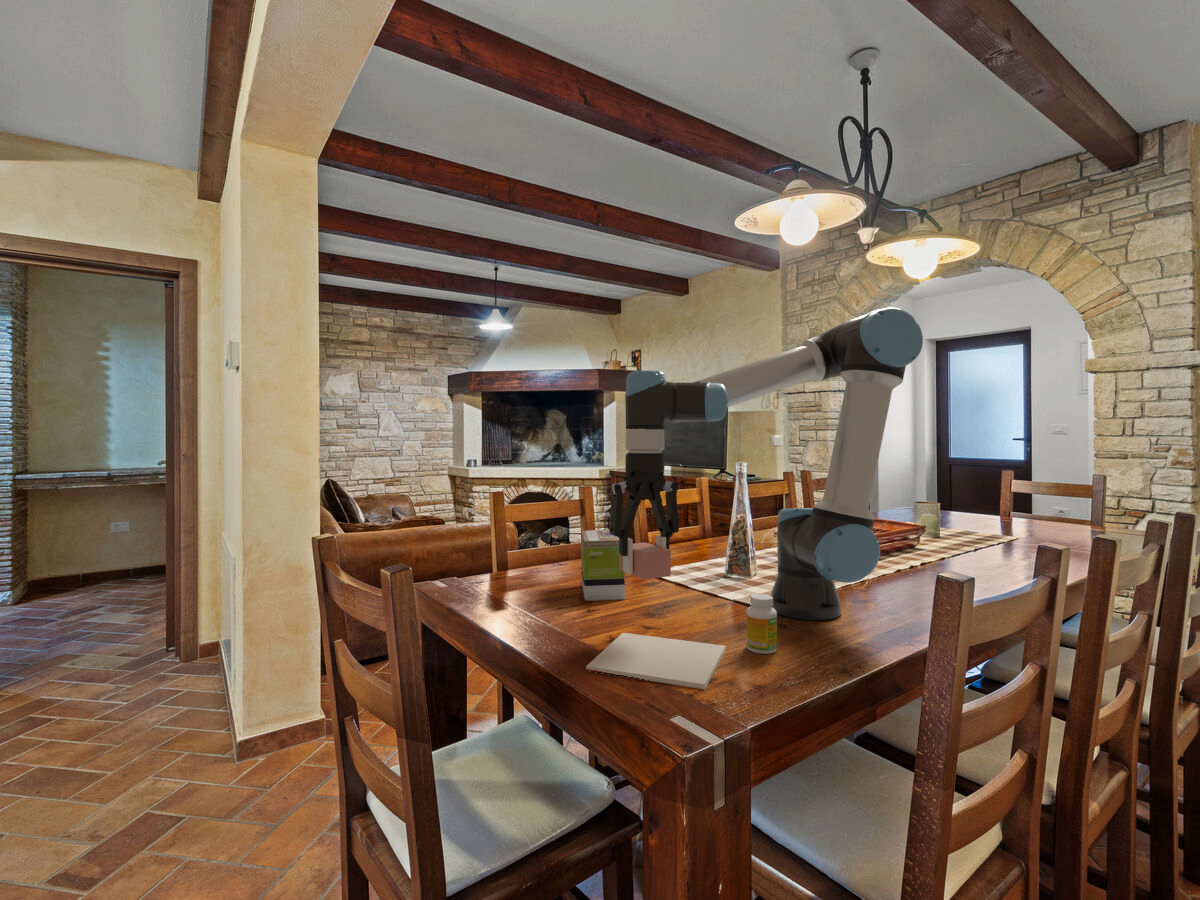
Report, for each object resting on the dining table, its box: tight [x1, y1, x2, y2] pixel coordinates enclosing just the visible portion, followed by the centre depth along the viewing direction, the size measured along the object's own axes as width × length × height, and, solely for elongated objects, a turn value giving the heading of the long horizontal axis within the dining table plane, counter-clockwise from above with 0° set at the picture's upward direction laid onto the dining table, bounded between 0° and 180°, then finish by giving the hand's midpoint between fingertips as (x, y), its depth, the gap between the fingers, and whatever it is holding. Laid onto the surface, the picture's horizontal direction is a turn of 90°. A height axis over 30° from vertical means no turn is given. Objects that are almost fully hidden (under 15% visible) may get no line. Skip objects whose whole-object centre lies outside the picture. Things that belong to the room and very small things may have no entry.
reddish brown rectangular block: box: [619, 542, 672, 580], centre depth 115 cm, size 6×9×5 cm, turn 28°
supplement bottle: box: [746, 593, 778, 655], centre depth 109 cm, size 5×5×10 cm
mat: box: [586, 632, 727, 690], centre depth 104 cm, size 20×18×1 cm
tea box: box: [580, 529, 626, 602], centre depth 149 cm, size 15×10×15 cm
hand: (644, 570), depth 115 cm, fingers closed on reddish brown rectangular block, 6 cm apart
